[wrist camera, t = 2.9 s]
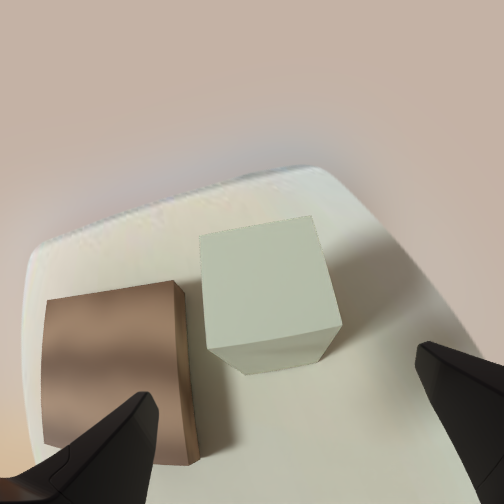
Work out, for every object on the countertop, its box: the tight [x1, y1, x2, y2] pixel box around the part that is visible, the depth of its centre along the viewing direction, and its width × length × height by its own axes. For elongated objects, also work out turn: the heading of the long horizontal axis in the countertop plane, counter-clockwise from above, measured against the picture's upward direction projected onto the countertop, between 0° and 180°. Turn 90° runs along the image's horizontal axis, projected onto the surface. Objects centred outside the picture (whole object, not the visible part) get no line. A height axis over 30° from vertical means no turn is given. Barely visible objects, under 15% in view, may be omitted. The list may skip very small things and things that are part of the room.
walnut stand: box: [41, 280, 200, 466], centre depth 18 cm, size 13×13×2 cm
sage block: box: [199, 216, 343, 375], centre depth 15 cm, size 5×5×10 cm
